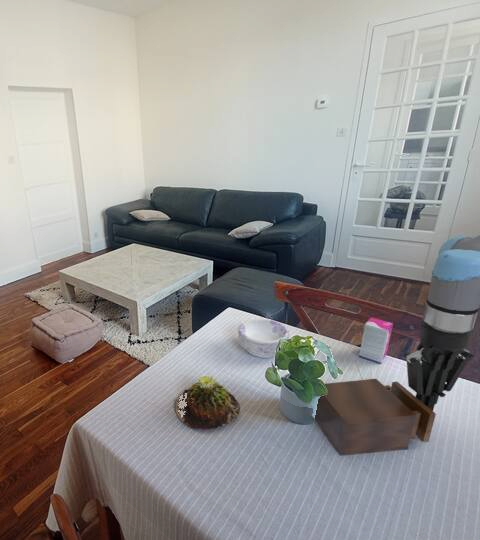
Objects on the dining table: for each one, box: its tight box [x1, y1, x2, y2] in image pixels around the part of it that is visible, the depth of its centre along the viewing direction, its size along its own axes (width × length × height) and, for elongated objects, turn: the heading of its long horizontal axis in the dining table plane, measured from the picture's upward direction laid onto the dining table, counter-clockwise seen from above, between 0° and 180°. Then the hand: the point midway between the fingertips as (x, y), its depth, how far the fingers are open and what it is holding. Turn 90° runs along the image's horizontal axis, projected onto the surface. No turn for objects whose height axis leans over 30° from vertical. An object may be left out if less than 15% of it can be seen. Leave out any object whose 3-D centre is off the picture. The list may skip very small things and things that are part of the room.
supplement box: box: [358, 317, 394, 365], centre depth 100 cm, size 6×6×12 cm
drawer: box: [384, 381, 437, 443], centre depth 77 cm, size 15×10×8 cm
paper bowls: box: [238, 318, 290, 359], centre depth 110 cm, size 15×15×8 cm
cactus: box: [174, 375, 241, 430], centre depth 89 cm, size 17×16×10 cm
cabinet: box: [314, 378, 416, 456], centre depth 77 cm, size 15×12×10 cm
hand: (422, 414), depth 77 cm, fingers closed
